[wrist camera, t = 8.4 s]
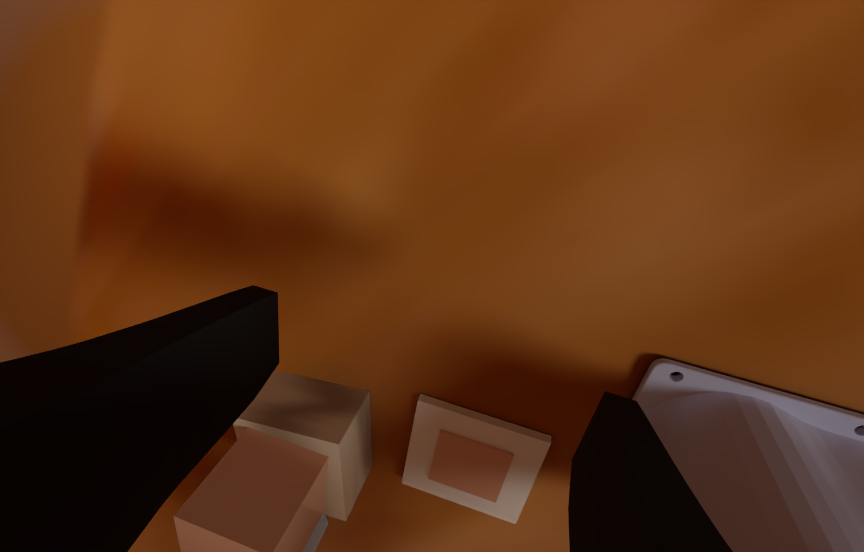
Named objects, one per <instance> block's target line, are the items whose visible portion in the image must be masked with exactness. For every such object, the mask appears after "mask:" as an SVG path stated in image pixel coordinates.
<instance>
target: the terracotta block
mask: <svg viewBox="0 0 864 552" xmlns="http://www.w3.org/2000/svg"><path fill="white" fill-rule="evenodd" d="M328 461H329V457H328V456H325V455H323V454H320V453H317V452H315V451H312V450H309V449H307V448H304V447H301V446H299V445H296V444H293V443H290V442H288V441H285V440H282V439H280V438H277V437H274V436H272V435H269V434H266V433H264V432H261V431H258V430H255V429H253V428H250V427H248V428H247V429H246V430H245V432H244V433H243V434H242V435H241V436H240V438H239V439H238V440H237V441H236V442H235V444H234V445H233V446H232V447H231V448H230V449H229V451H228V452H227V453H226V454H225V455H224V457H223V458H222V459H221V460H220V461H219V463H218V464H217V465H216V466H215V467H214V469H213V470H212V471H211V472H210V473H209V474H208V476H207V477H206V478H205V479H204V480H203V482H202V483H201V484H200V485H199V486H198V488H197V489H196V490H195V491H194V492H193V494H192V495H191V496H190V497H189V498H188V499H187V501H186V502H185V503H184V504H183V505H182V507H181V508H180V509H179V510H178V511H177V513H176V514H175V515H174V521H175V526H176V530H177V535H178V540H179V545H180V549H181V552H303V550H304V548H305V546H306V544H307V542H308V540H309V539H310V537H311V535H312V533H313V531H314V529H315V527H316V525H317V523H318V521H319V519H320V518H321V516H322V514H323V512H324V510H325V498H326V486H327V473H328Z"/></svg>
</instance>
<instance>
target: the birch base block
mask: <svg viewBox="0 0 864 552" xmlns="http://www.w3.org/2000/svg"><path fill="white" fill-rule="evenodd" d="M233 426H234V430H235V434H236V438H237V440H238V439H239V438H240V436H241V435H242V434H243V433H244V432H245V430H246V429H247V428H248V427H250V428H253V429H255V430H258V431H261V432H264V433H266V434H269V435H272V436H274V437H277V438H280V439H282V440H285V441H288V442H290V443H293V444H296V445H299V446H301V447H304V448H307V449H309V450H312V451H315V452H317V453H320V454H323V455H325V456H328V457H329V461H328V473H327V486H326V498H325V510H324V512H323V515H326V516H329V517H333V518H336V519H339V520H343V521H346V520H347V518H348V516H349V514H350V512H351V510H352V508H353V506H354V503H355V501H356V499H357V497H358V495H359V493H360V491H361V488H362V486H363V484H364V482H365V480H366V478H367V476H368V474H369V471H370V469H371V467H372V465H373V461H372V437H371V414H370V391H365V390H361V389H356V388H352V387H348V386H343V385H339V384H334V383H330V382H326V381H321V380H317V379H312V378H308V377H304V376H299V375H295V374H290V373H286V372H282V371H277V370H274V371H273V373H272V374H271V376H270V377H269V379H268V380H267V382H266V383H265V385H264V386H263V388H262V389H261V390H260V392H259V393H258V395H257V396H256V398H255V399H254V400H253V401H252V403H251V404H250V405H249V406H248V407H247V408H246V410H245V411H244V412H243V413H242V414H241V415H240V416H239V418H238V419H237V420H236V421H235V422H234V423H233Z"/></svg>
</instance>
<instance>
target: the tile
mask: <svg viewBox="0 0 864 552" xmlns="http://www.w3.org/2000/svg"><path fill="white" fill-rule="evenodd" d="M550 445H551V436H550V435H547V434H543V433H540V432H537V431H534V430H531V429H528V428H525V427H522V426H519V425H516V424H513V423H509V422H506V421H503V420H500V419H497V418H494V417H491V416H488V415H485V414H482V413H479V412H475V411H472V410H469V409H466V408H463V407H460V406H457V405H454V404H451V403H448V402H444V401H441V400H438V399H435V398H432V397H429V396H426V395H423V394H420V396H419V399H418V402H417V407H416V412H415V417H414V422H413V428H412V433H411V438H410V443H409V448H408V453H407V458H406V463H405V468H404V473H403V479H402V484H405V485H408V486H410V487H413V488H416V489H419V490H422V491H424V492H427V493H430V494H433V495H435V496H438V497H441V498H444V499H447V500H449V501H452V502H455V503H458V504H461V505H463V506H466V507H469V508H472V509H474V510H477V511H480V512H483V513H486V514H488V515H491V516H494V517H497V518H499V519H502V520H505V521H508V522H511V523H513V524H516V523H517V520H518V518H519V516H520V513H521V511H522V509H523V507H524V504H525V502H526V500H527V497H528V495H529V493H530V491H531V488H532V486H533V484H534V481H535V479H536V477H537V475H538V472H539V470H540V468H541V465H542V463H543V461H544V459H545V456H546V454H547V452H548V449H549V447H550Z"/></svg>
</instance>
